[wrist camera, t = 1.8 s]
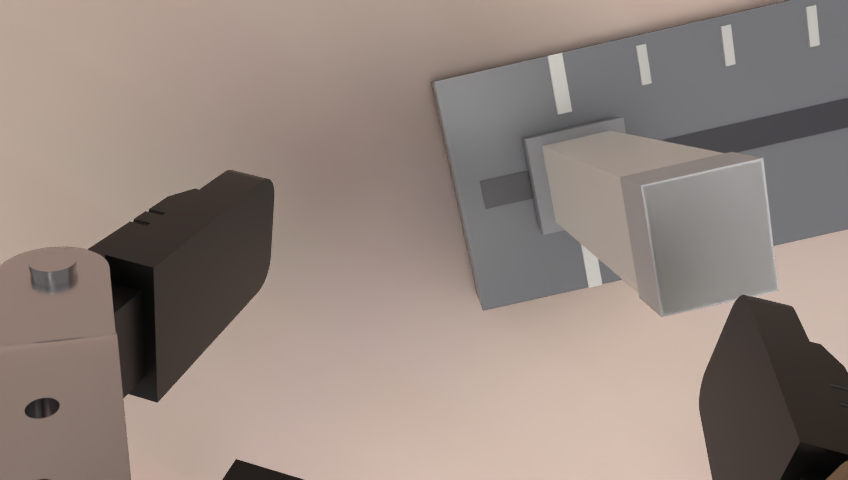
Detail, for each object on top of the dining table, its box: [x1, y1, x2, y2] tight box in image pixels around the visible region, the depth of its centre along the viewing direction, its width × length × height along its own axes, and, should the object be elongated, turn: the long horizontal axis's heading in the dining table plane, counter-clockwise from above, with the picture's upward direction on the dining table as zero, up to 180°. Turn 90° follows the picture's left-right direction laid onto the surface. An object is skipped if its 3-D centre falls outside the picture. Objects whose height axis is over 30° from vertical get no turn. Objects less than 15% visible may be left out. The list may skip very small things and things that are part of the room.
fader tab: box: [522, 117, 779, 317], centre depth 23 cm, size 4×4×13 cm
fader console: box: [431, 0, 848, 310], centre depth 30 cm, size 24×10×3 cm, turn 103°
